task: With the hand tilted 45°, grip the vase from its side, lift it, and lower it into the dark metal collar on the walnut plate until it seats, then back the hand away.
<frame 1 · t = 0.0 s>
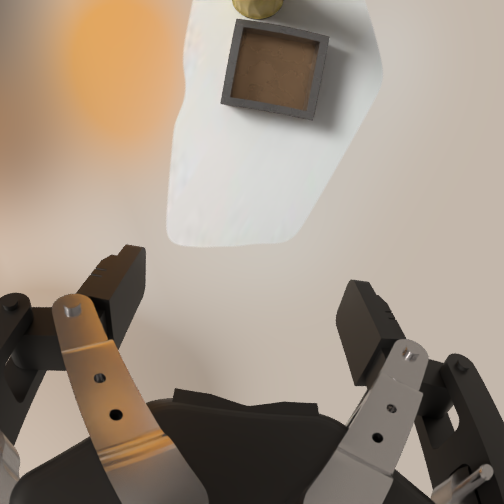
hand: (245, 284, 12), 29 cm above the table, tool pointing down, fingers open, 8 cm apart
collar: (273, 70, 34), on the table
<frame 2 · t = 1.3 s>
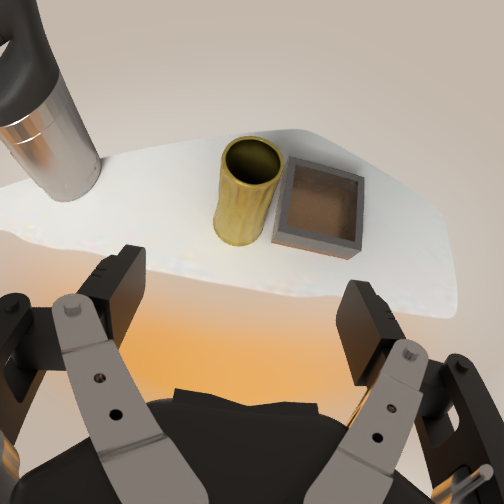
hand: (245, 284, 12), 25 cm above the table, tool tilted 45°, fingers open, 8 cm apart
vase: (238, 223, 40), on the table
collar: (315, 214, 41), on the table
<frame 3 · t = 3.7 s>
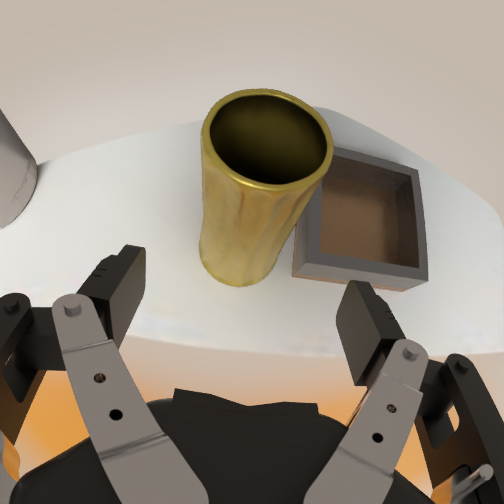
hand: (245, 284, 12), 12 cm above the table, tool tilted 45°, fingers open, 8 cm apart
vase: (238, 249, 25), on the table
collar: (352, 227, 27), on the table
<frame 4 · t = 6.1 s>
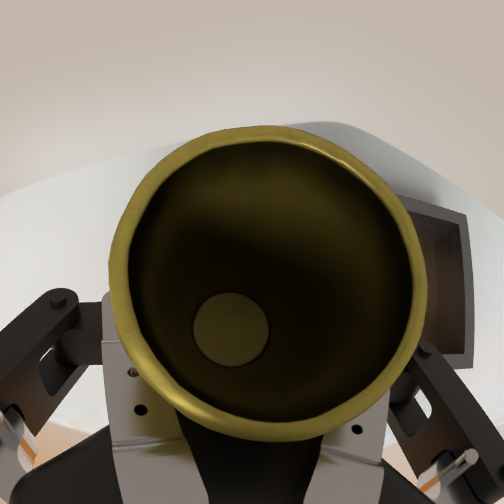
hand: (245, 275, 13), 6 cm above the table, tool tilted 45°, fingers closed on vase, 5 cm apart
vase: (229, 330, 18), on the table, touching gripper
collar: (380, 292, 20), on the table
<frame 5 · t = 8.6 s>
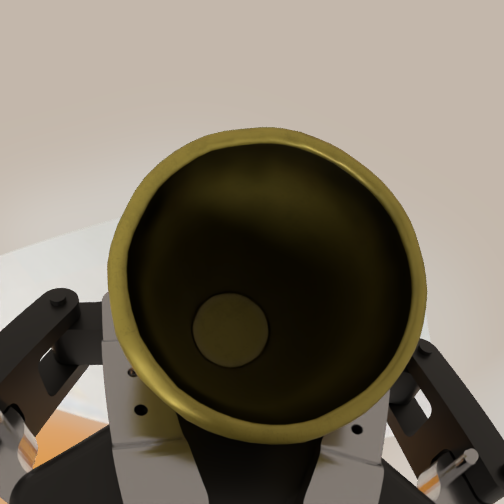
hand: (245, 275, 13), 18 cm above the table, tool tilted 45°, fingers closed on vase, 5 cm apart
vase: (229, 331, 18), point 12 cm above the table, touching gripper
when the fingers open (9 cm above the table, at t = 11.1 s): vase drops 1 cm, resting on collar.
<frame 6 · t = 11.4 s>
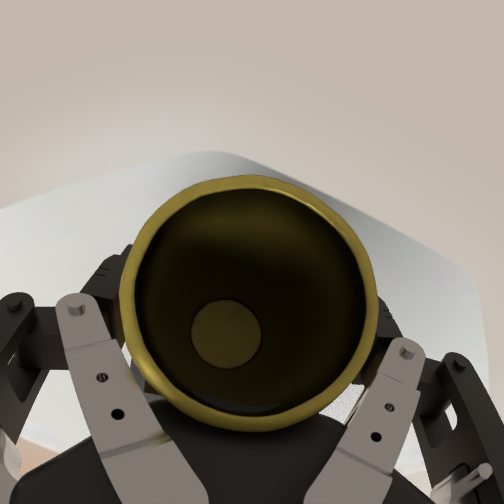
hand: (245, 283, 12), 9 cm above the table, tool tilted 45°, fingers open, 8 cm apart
vase: (225, 335, 20), point 1 cm above the table, touching collar
collar: (228, 333, 20), on the table
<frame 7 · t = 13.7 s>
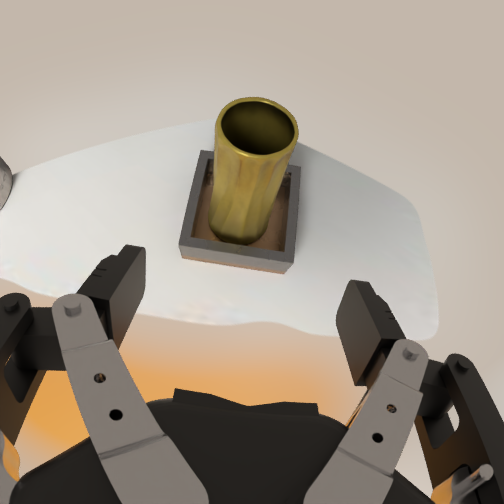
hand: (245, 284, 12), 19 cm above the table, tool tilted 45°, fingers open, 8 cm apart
vase: (238, 217, 32), point 1 cm above the table, touching collar
collar: (240, 219, 33), on the table
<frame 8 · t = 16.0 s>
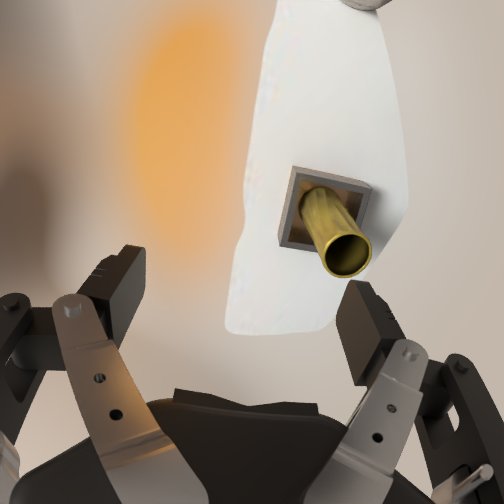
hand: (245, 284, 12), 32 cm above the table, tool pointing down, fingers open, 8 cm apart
vase: (320, 207, 44), point 1 cm above the table, touching collar
collar: (320, 207, 44), on the table
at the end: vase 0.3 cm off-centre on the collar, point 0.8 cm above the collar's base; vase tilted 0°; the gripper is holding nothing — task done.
